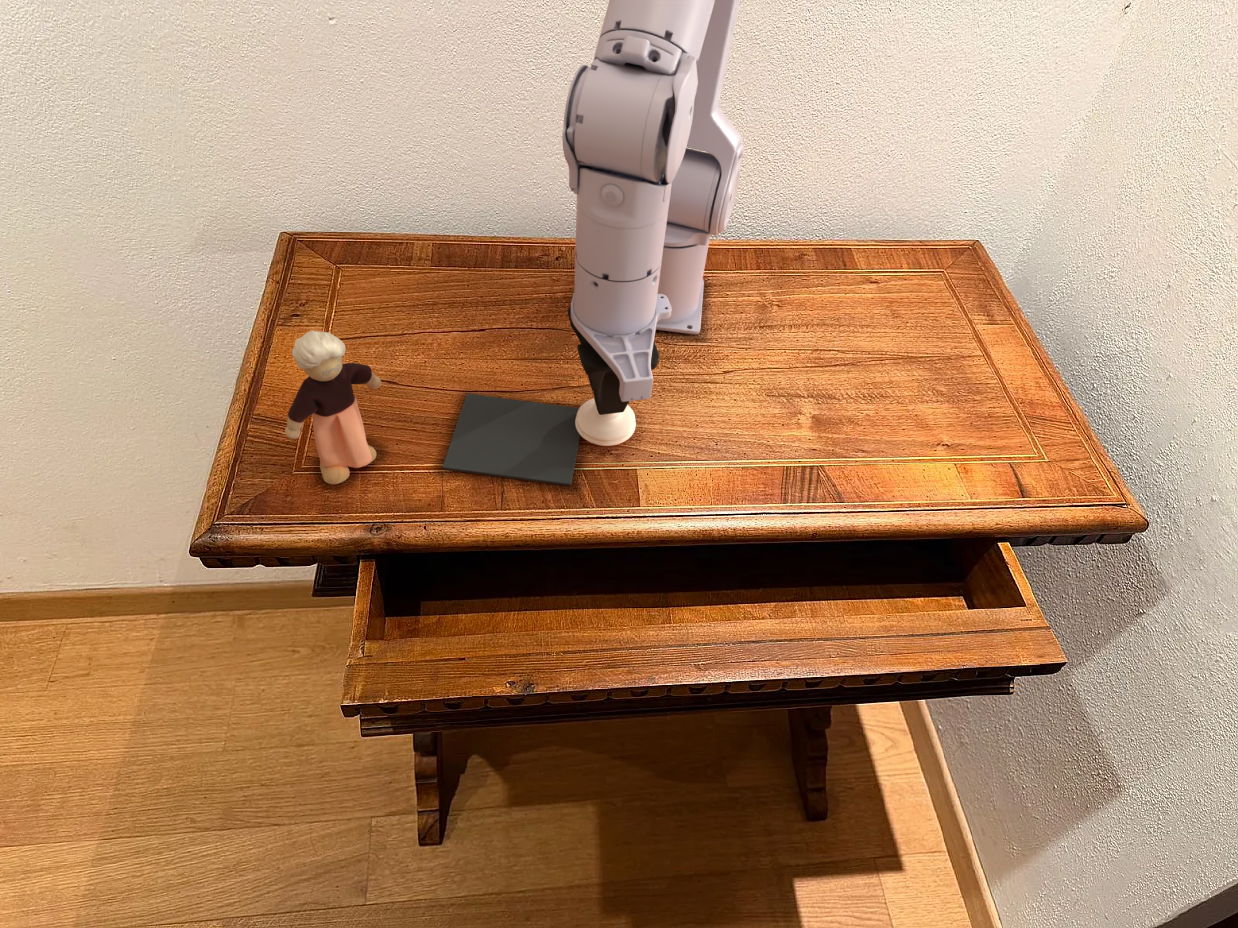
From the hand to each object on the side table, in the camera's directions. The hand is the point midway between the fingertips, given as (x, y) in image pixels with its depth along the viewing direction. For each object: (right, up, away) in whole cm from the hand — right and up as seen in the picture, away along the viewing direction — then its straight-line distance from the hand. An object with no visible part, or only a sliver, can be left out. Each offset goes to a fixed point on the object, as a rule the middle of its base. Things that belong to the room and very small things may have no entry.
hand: (607, 398), depth 63 cm
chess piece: (0, -2, +2) cm, 3 cm away
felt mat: (-7, -3, +1) cm, 8 cm away
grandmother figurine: (-20, -5, -1) cm, 20 cm away
